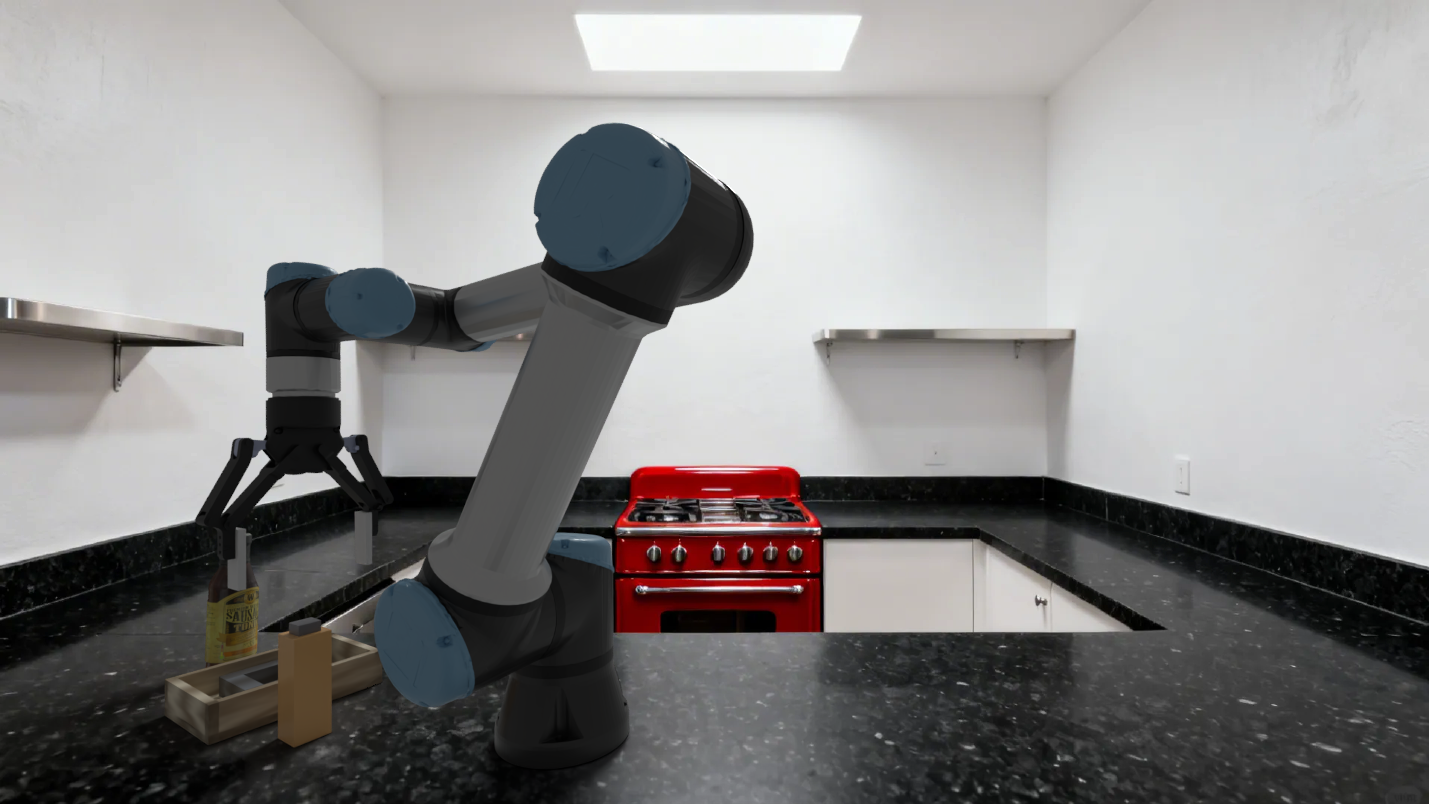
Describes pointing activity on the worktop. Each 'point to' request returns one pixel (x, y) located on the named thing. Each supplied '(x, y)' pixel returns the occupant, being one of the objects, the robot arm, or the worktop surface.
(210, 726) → the walled box
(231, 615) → the sauce bottle
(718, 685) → the worktop surface
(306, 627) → the tan tall block
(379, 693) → the worktop surface
